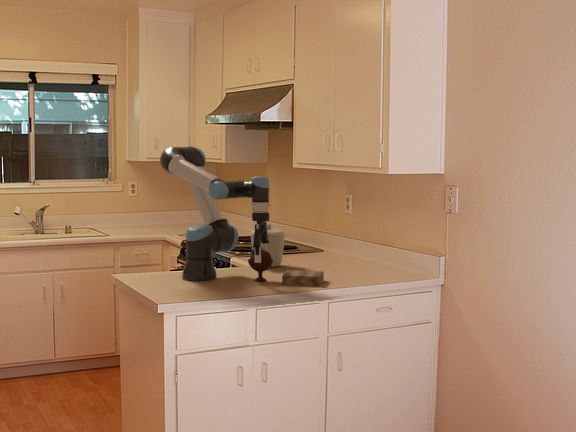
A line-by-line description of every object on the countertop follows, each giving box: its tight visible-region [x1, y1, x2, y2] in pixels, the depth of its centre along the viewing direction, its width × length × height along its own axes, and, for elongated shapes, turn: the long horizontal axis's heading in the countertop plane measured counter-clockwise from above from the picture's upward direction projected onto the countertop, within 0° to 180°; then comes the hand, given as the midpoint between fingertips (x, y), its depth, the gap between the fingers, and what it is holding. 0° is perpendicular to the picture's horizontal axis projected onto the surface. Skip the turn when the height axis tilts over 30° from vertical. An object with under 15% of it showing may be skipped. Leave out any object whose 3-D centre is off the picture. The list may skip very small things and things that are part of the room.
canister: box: [249, 223, 287, 268], centre depth 378 cm, size 18×18×21 cm
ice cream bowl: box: [247, 248, 273, 283], centre depth 338 cm, size 11×11×15 cm
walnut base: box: [281, 269, 325, 287], centre depth 335 cm, size 16×14×4 cm
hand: (261, 260), depth 337 cm, fingers open, 13 cm apart
